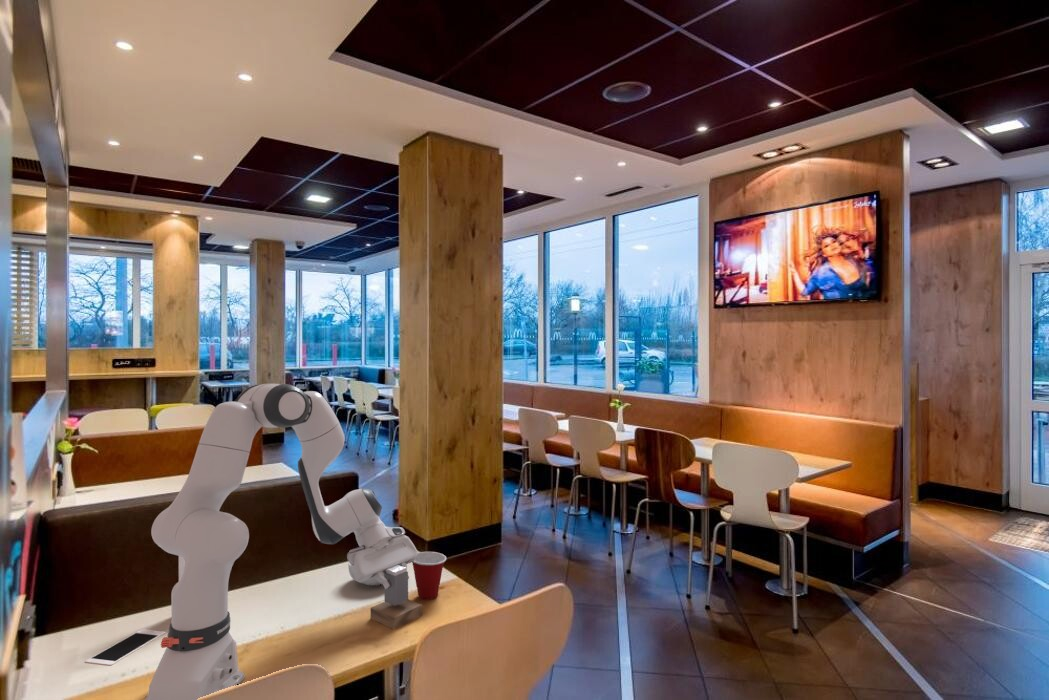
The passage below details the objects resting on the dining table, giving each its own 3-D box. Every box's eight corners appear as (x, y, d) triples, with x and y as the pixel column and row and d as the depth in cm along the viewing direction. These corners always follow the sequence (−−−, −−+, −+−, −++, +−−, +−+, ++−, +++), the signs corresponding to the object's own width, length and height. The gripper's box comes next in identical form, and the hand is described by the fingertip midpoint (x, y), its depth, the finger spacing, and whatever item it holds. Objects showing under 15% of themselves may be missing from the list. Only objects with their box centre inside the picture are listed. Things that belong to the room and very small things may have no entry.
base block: (393, 629, 151) (393, 618, 151) (370, 618, 158) (370, 607, 158) (422, 615, 159) (422, 604, 159) (398, 605, 165) (398, 595, 165)
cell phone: (166, 634, 151) (166, 631, 151) (111, 667, 135) (111, 664, 135) (141, 631, 152) (141, 628, 152) (84, 663, 136) (84, 661, 136)
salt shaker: (395, 605, 155) (394, 573, 155) (384, 601, 158) (384, 569, 158) (408, 599, 159) (407, 567, 159) (397, 595, 162) (397, 564, 162)
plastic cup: (450, 599, 169) (450, 559, 169) (414, 606, 165) (414, 565, 165) (442, 585, 179) (441, 548, 179) (407, 591, 175) (407, 552, 175)
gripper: (349, 545, 154) (371, 590, 149) (407, 526, 171) (430, 566, 165) (339, 558, 157) (361, 602, 151) (397, 538, 173) (419, 577, 167)
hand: (397, 583), depth 158 cm, fingers closed on salt shaker, 5 cm apart
